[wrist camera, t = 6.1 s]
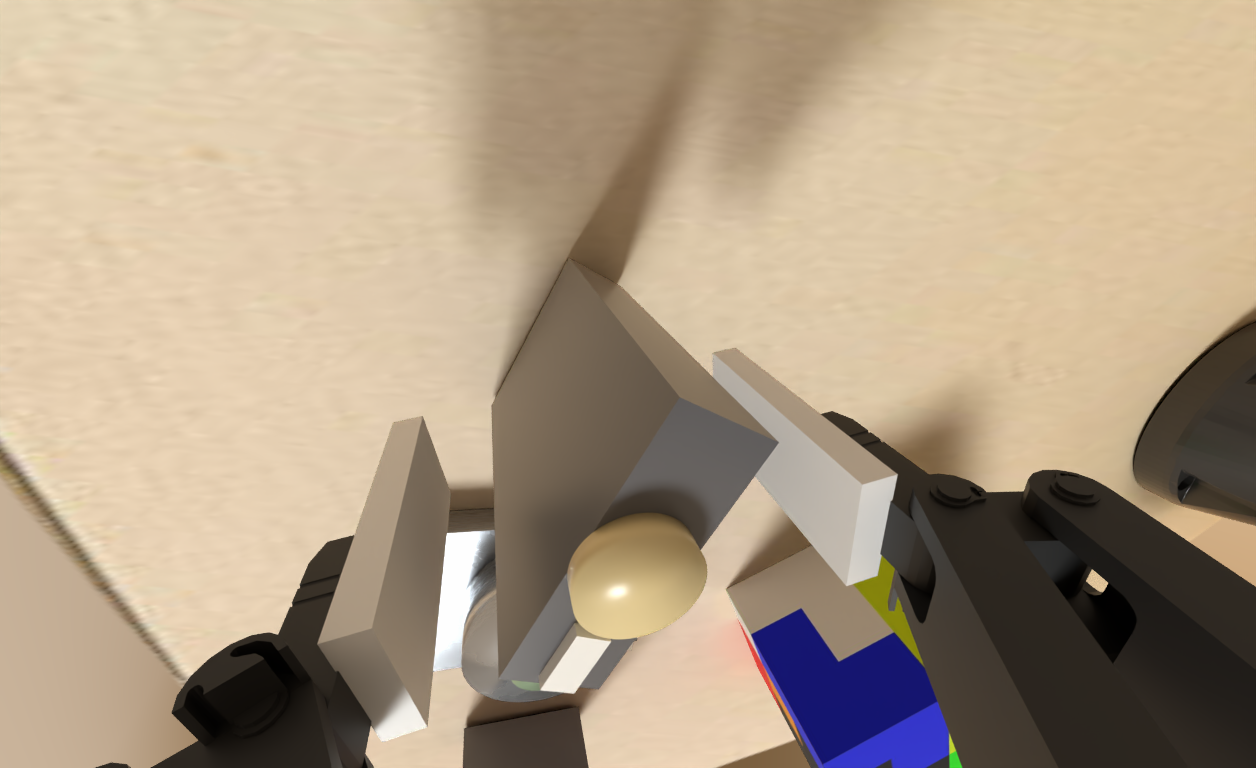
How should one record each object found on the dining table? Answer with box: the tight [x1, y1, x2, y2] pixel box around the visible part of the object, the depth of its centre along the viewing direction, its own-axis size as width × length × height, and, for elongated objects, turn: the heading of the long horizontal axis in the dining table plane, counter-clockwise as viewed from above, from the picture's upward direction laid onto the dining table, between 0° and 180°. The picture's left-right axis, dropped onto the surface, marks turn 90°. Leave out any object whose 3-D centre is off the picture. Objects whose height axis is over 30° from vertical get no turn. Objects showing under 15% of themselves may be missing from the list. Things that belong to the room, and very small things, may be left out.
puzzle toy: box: [726, 545, 962, 768], centre depth 29 cm, size 10×10×10 cm
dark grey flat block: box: [492, 258, 779, 694], centre depth 14 cm, size 7×3×13 cm, turn 149°
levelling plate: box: [433, 509, 637, 702], centre depth 23 cm, size 12×9×5 cm
